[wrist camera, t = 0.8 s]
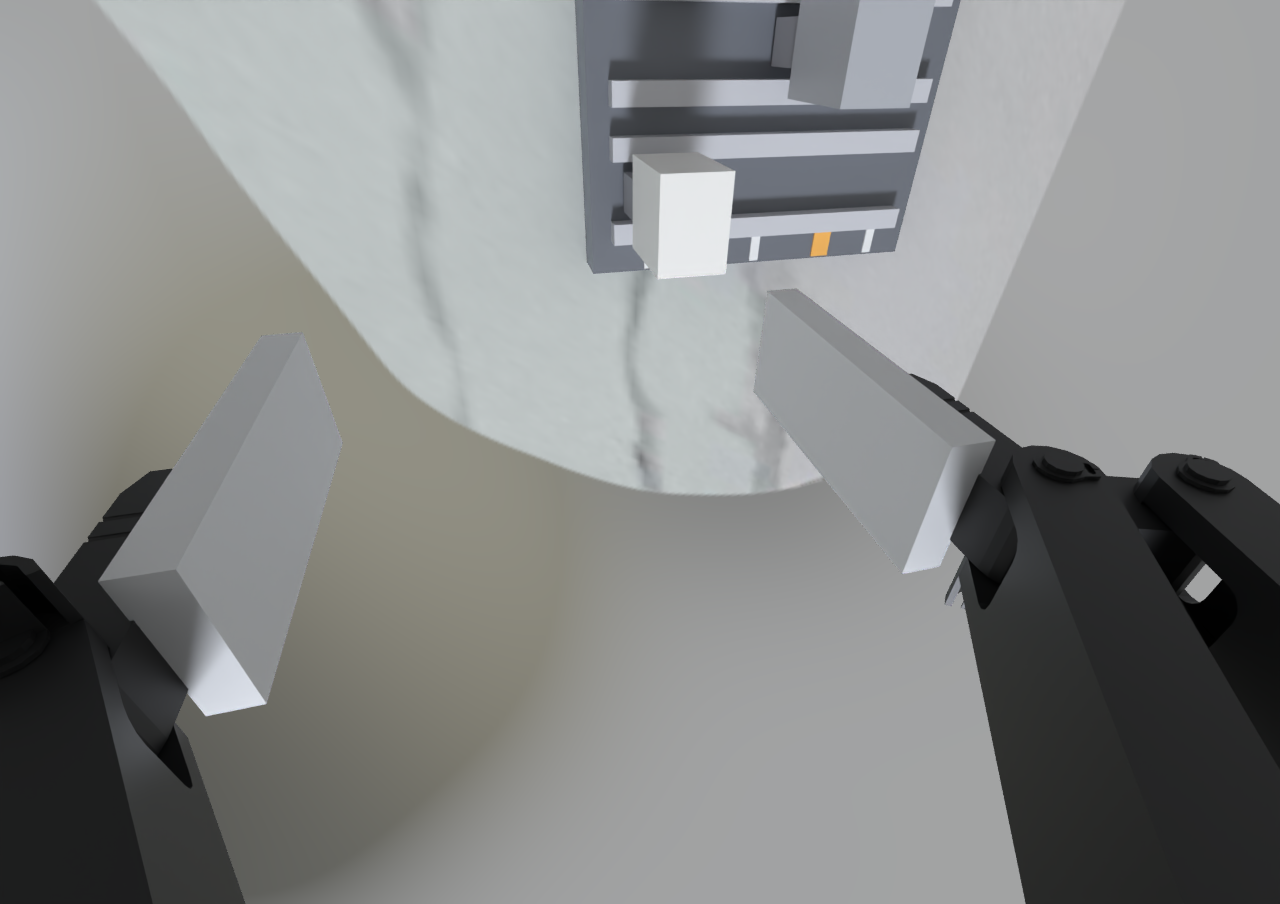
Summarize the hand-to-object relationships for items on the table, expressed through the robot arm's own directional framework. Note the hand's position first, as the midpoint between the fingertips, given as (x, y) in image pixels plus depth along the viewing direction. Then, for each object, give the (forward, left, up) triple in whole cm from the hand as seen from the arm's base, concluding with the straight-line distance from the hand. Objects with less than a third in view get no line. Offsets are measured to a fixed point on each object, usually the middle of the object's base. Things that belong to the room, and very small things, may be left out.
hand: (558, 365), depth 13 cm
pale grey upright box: (-6, +14, -17) cm, 23 cm away
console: (-3, +13, -20) cm, 24 cm away
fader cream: (0, +7, -17) cm, 19 cm away
